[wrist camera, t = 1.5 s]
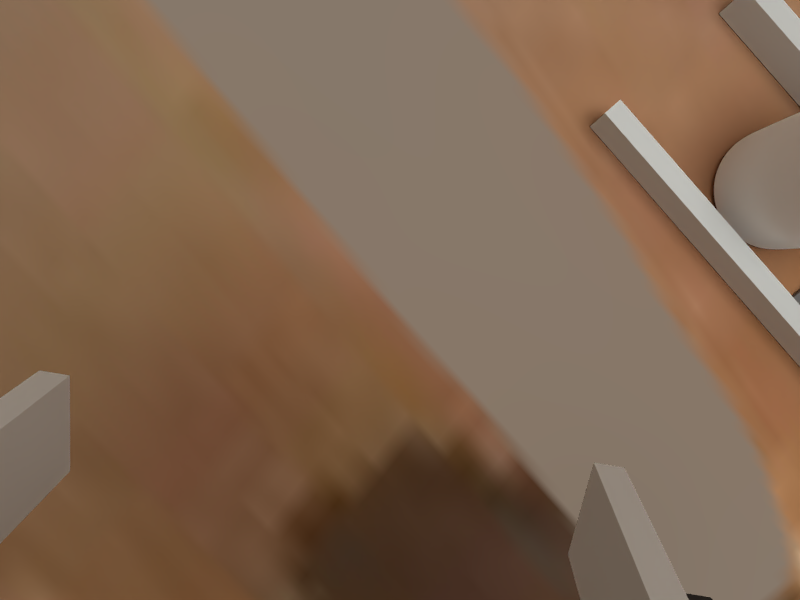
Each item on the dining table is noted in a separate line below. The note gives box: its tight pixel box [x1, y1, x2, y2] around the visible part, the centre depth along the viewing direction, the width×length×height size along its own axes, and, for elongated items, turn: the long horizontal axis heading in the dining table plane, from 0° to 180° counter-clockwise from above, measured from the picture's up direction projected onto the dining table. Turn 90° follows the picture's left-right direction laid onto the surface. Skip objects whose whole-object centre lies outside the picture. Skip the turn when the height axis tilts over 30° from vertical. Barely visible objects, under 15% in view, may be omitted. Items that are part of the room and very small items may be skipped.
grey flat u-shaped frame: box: [590, 0, 800, 367], centre depth 34 cm, size 20×10×3 cm, turn 41°
